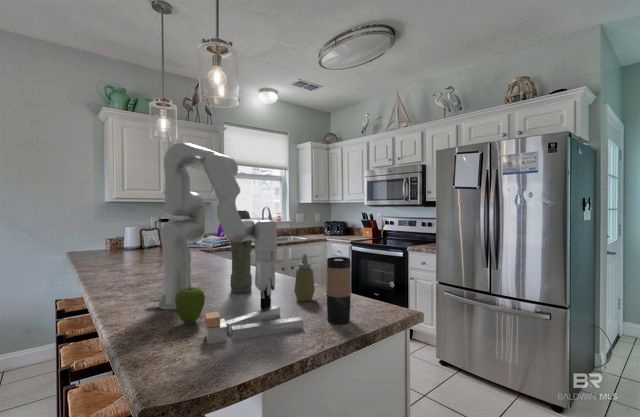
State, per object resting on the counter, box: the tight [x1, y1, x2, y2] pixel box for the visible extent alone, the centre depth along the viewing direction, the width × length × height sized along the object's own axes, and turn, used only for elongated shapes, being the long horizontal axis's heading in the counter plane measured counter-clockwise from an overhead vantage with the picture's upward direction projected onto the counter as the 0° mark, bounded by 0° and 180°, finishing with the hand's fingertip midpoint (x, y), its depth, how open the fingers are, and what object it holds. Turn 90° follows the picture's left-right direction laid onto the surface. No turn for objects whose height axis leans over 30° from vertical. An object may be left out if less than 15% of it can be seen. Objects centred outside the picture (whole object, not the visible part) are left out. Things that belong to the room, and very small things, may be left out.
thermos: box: [230, 210, 253, 295], centre depth 138 cm, size 9×12×35 cm
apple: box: [175, 287, 206, 325], centre depth 100 cm, size 9×8×12 cm
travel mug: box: [326, 256, 352, 326], centre depth 102 cm, size 8×8×20 cm
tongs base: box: [205, 316, 304, 345], centre depth 93 cm, size 27×7×4 cm, turn 113°
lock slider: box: [204, 311, 221, 329], centre depth 88 cm, size 4×5×2 cm
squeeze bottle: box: [294, 253, 316, 302], centre depth 126 cm, size 8×8×18 cm
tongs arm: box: [225, 305, 281, 335], centre depth 100 cm, size 20×3×3 cm, turn 142°
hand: (265, 309), depth 110 cm, fingers closed
